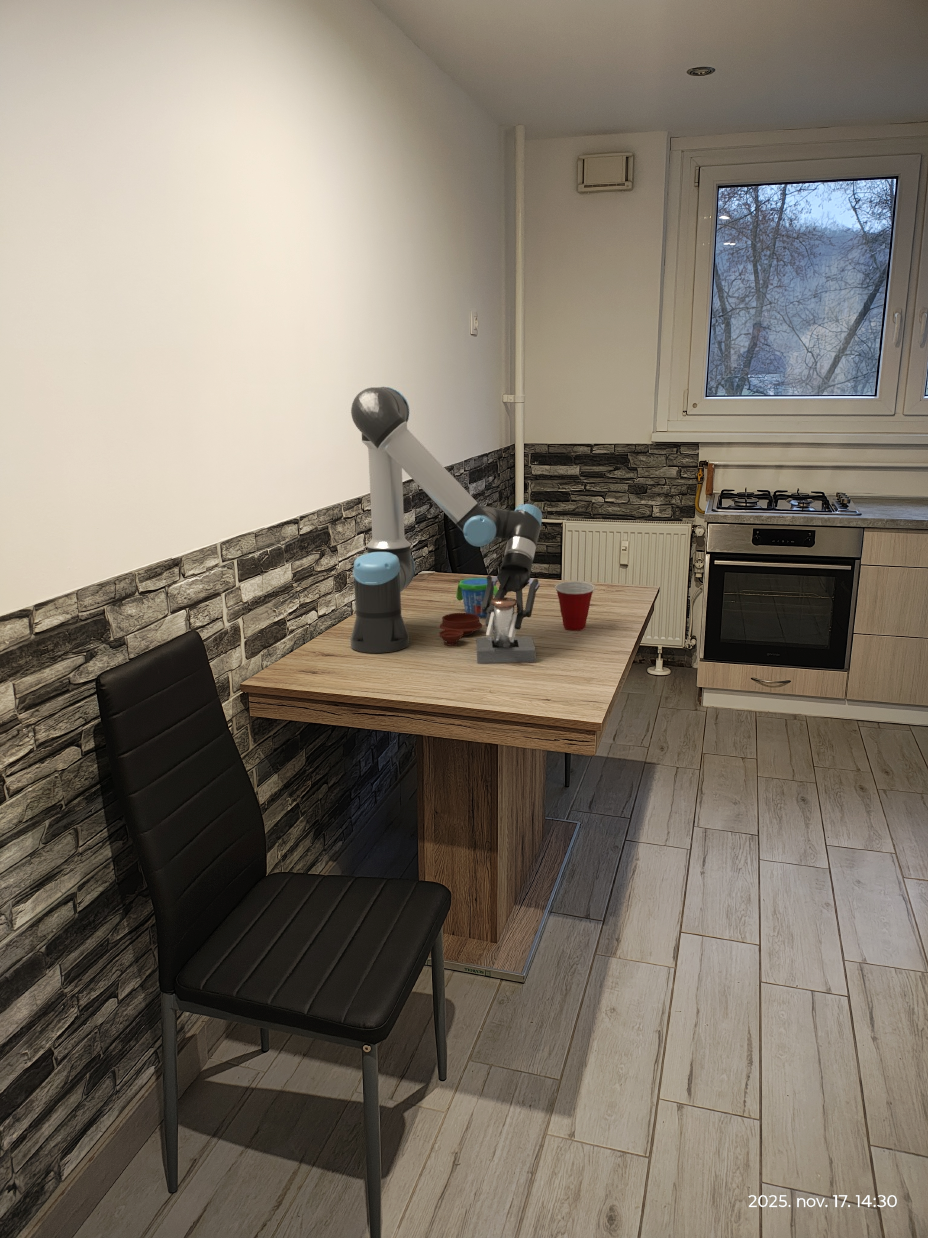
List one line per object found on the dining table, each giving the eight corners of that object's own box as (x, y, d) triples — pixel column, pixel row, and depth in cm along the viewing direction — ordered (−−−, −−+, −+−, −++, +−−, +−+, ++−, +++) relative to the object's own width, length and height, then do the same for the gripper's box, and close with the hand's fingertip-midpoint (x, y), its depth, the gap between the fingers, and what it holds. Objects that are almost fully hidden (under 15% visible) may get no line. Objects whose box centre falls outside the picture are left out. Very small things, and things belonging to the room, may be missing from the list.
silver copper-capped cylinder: (492, 655, 217) (492, 603, 214) (491, 647, 223) (491, 597, 220) (516, 654, 217) (517, 603, 214) (515, 647, 223) (515, 597, 220)
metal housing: (477, 663, 214) (477, 651, 214) (476, 648, 226) (476, 637, 225) (535, 662, 214) (535, 650, 214) (531, 647, 226) (531, 636, 225)
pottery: (486, 628, 246) (486, 612, 245) (470, 648, 227) (470, 632, 226) (445, 626, 248) (445, 611, 247) (426, 646, 230) (425, 630, 228)
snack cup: (447, 613, 262) (446, 579, 259) (474, 607, 268) (474, 574, 265) (481, 623, 250) (481, 588, 247) (509, 617, 256) (509, 582, 254)
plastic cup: (553, 633, 239) (554, 589, 236) (554, 622, 249) (555, 580, 246) (594, 633, 237) (595, 589, 234) (594, 623, 248) (594, 581, 245)
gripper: (555, 569, 227) (538, 649, 216) (487, 565, 232) (468, 643, 222) (550, 552, 220) (532, 634, 210) (481, 549, 226) (460, 628, 215)
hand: (499, 638), depth 216 cm, fingers closed on silver copper-capped cylinder, 5 cm apart
